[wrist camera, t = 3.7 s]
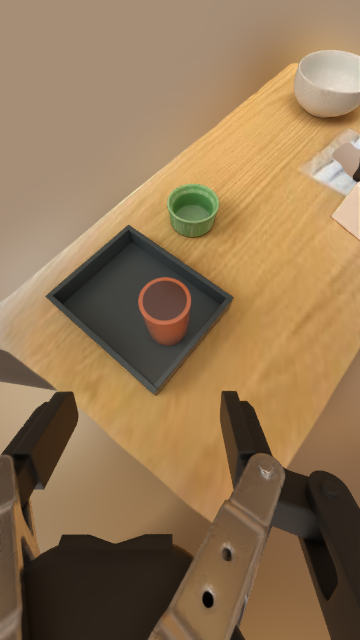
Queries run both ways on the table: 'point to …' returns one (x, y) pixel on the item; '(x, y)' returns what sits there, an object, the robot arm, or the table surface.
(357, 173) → the brown carved rock
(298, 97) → the cereal bowl
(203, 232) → the ramekin
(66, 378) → the table surface
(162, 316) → the cup
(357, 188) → the medicine bottle
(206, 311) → the tray
